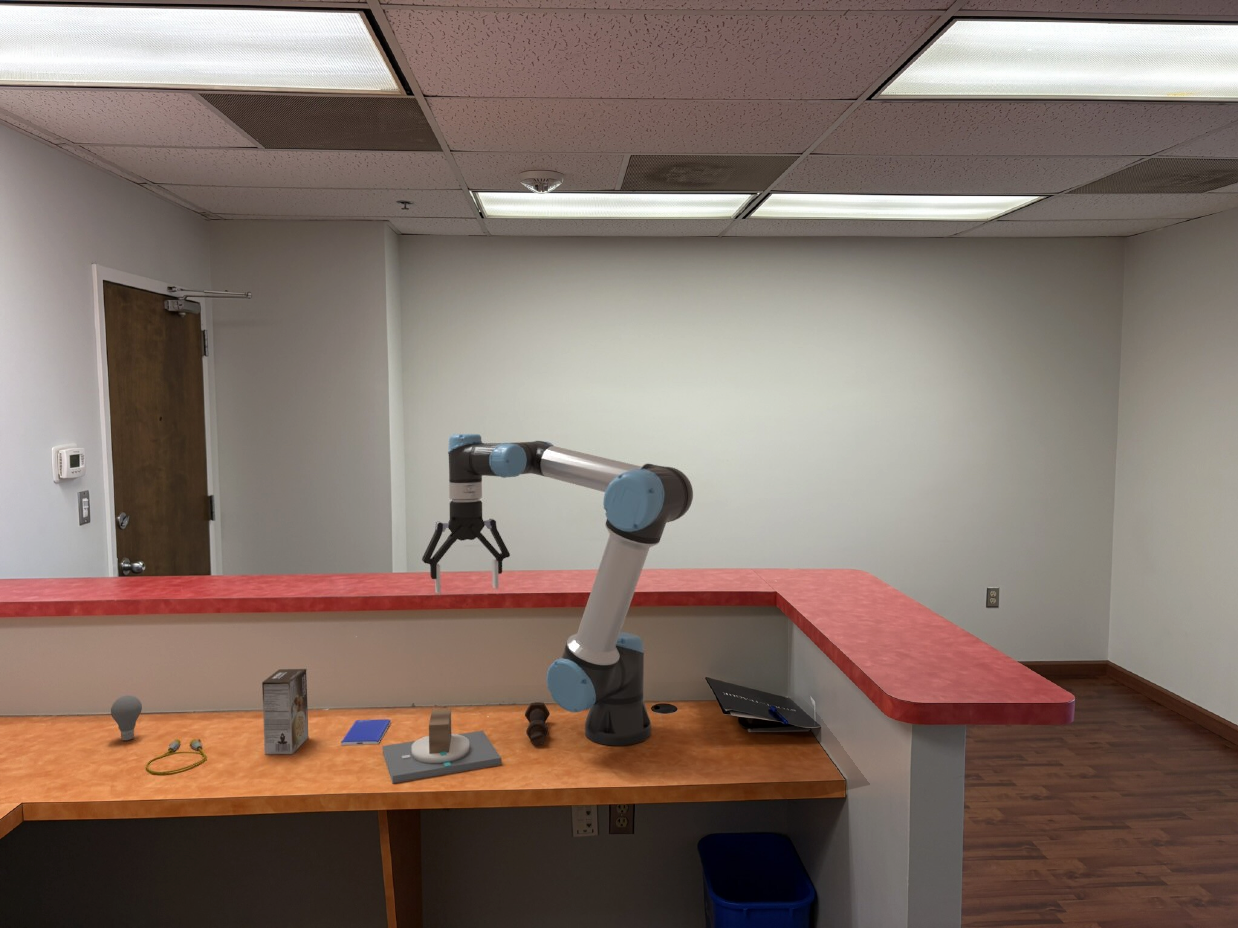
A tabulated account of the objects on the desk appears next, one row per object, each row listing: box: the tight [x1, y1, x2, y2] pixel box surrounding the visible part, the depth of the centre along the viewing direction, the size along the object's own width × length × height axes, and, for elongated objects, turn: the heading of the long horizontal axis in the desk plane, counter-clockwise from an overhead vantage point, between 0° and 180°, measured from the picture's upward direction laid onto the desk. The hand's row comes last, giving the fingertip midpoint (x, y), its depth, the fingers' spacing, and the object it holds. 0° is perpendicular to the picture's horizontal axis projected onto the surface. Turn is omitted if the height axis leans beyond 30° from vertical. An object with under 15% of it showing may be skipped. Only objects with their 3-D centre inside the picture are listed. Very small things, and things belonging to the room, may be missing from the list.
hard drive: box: [340, 718, 392, 746], centre depth 187 cm, size 2×8×12 cm
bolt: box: [524, 701, 550, 746], centre depth 186 cm, size 6×5×15 cm
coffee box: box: [261, 668, 309, 755], centre depth 180 cm, size 9×6×16 cm
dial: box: [412, 708, 469, 763], centre depth 173 cm, size 12×12×8 cm
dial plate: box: [382, 730, 502, 784], centre depth 173 cm, size 22×16×2 cm
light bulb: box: [110, 694, 143, 741], centre depth 184 cm, size 6×6×10 cm
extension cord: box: [145, 738, 208, 776], centre depth 174 cm, size 12×16×2 cm
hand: (467, 590), depth 192 cm, fingers open, 13 cm apart
